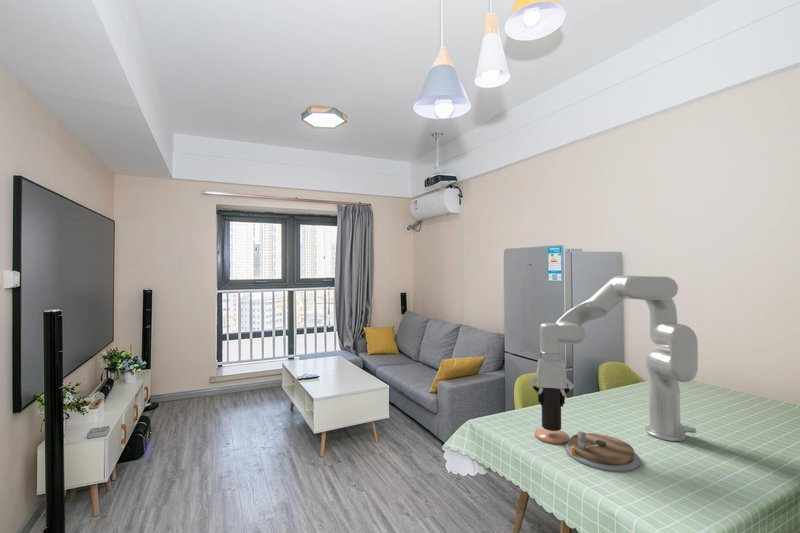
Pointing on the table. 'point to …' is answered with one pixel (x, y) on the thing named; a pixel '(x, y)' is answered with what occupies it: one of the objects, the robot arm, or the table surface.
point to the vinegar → (551, 409)
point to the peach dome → (551, 436)
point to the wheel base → (606, 467)
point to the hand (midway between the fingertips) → (551, 404)
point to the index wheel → (602, 448)
